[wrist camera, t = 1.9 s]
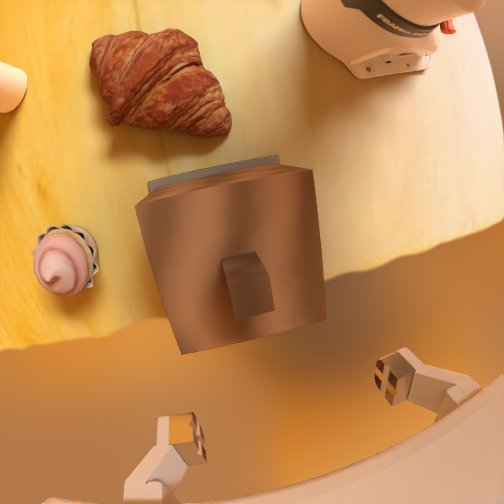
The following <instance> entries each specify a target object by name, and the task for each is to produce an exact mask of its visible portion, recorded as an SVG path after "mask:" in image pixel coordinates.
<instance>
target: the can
mask: <svg viewBox="0 0 504 504" xmlns="http://www.w3.org/2000/svg"><path fill="white" fill-rule="evenodd" d="M26 88H27V77H26V74H25V73H24V72H23V71H22V70H20V69H18V68H15V67H13V66H10V65H8V64H5V63H3V62H0V112H2V113H6V112H10V111H12V110H13V109H15V108H16V107H17V106H18V105H19V103H20V102H21V100H22V99H23V97H24V94H25V92H26Z"/></svg>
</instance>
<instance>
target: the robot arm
mask: <svg viewBox="0 0 504 504" xmlns="http://www.w3.org/2000/svg"><path fill="white" fill-rule="evenodd" d="M485 2H486V0H302V3H301V16H302V20H303V23H304V25H305V27H306V29H307V31H308V33H309V34H310V36H311V37H312V38H313V39H314V41H315V42H316V43H317V44H318V45H319V46H320V47H321V48H322V49H324V50H325V51H326V52H328V53H329V54H330V55H332V56H334V57H335V58H337V59H339V60H340V61H342V62H343V63H344V64H345V65H346V66H347V67H348V69H349V70H350V71H351V72H352V73H353V74H354V75H355V76H356V77H357V78H359V79H367V78H373V77H378V76H385V75H391V74H398V73H405V72H413V71H421V70H425V69H428V67H429V64H430V54H431V53H433V52H435V51H436V50H437V48H438V42H439V39H438V32H437V26H438V25H439V24H440V29H441V32H442V33H444V34H454V33H455V32H456V30H455V28H454V26H453V23H452V19H453V18H456V17H459V16H463V15H466V14H469V13H473V12H476V11H478V10H479V9H480V8H482V7H483V6H484V4H485ZM366 68H368V69H369V72H368V71H367V69H366ZM376 367H377V368H378V369H377V371H376V372H375V382H376V385H377V387H378V388H379V390H380V391H382V392H385V397H386V399H387V400H388V402H389V403H390V404H391V406H394V405H396V404H398V403H400V402H402V401H404V400H406V399H407V400H408V401H411V402H413V403H415V404H417V405H420V406H422V407H424V408H426V409H429V410H431V411H433V412H436V413H438V414H437V417H436V419H435V422H434V423H433V424H432V425H430V426H428V427H427V428H425V429H423V430H421V431H420V432H418V433H416V434H414V435H413V436H411V437H409V438H407V439H405V440H403V441H401V442H400V443H397V444H395V445H393V446H391V447H390V448H387V449H385V450H383V451H381V452H379V453H377V454H375V455H372V456H370V457H368V458H365V459H363V460H361V461H358V462H356V463H354V464H351V465H349V466H346V467H343V468H341V469H338V470H336V471H333V472H330V473H327V474H324V475H321V476H318V477H316V478H312V479H310V480H306V481H303V482H300V483H296V484H292V485H289V486H285V487H281V488H278V489H273V490H269V491H265V492H260V493H256V494H251V495H246V496H241V497H235V498H229V499H222V500H215V501H208V502H198V503H188V504H504V373H502V374H501V375H500V376H499V377H498V378H497V379H495V380H494V381H493V382H492V383H490V384H489V385H488V386H487V387H485V388H484V389H482V388H481V387H480V386H479V385H478V384H477V383H476V382H475V381H474V380H473V379H472V378H471V377H469V376H468V375H465V374H461V373H456V372H453V371H449V370H444V369H441V368H437V367H433V366H430V365H427V366H425V365H424V364H423V363H422V362H421V361H420V360H419V359H418V358H417V357H416V356H415V355H414V354H413V353H412V352H411V351H410V350H409V349H407V348H403V349H400V350H398V351H396V352H393V353H391V354H389V355H387V356H384V357H382V358H380V359H378V360H377V362H376ZM204 443H205V442H204V435H203V431H202V428H201V426H200V424H199V423H198V422H197V421H196V416H195V414H194V413H193V412H191V413H184V414H176V415H168V416H159V418H158V422H157V443H156V446H153V447H152V449H151V450H150V451H149V452H148V454H147V455H146V456H145V457H144V459H143V460H142V461H141V462H140V464H139V465H138V466H137V467H136V468H135V470H134V471H133V472H132V473H131V475H130V476H129V477H128V478H127V480H126V481H125V488H124V502H123V504H182V503H181V502H179V500H178V499H176V498H175V497H174V496H173V493H174V491H175V490H176V488H177V486H178V484H179V482H180V481H181V479H182V477H183V475H184V473H185V471H186V469H187V468H188V466H190V465H197V464H203V463H207V460H206V451H205V449H204V447H203V444H204ZM42 504H104V503H93V502H84V501H77V500H70V499H64V498H58V497H51V498H49V499H47V500H46V501H44V502H43V503H42Z"/></svg>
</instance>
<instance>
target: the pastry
mask: <svg viewBox="0 0 504 504" xmlns="http://www.w3.org/2000/svg"><path fill="white" fill-rule="evenodd" d="M90 68H91V71H92V73H93V74H94V75H95V76H96V77H98V78H99V90H100V92H101V96H102V98H103V100H104V101H106V102H107V103H108V104H109V105H110V106H111V107H110V109H109V114H108V120H107V121H108V123H109V124H110V125H111V126H118V125H119V124H120V123H124V124H127V125H130V126H136V127H142V128H144V129H150V130H156V129H166V130H182V131H184V132H186V133H188V134H190V135H192V136H195V137H211V136H213V135H222V134H224V133H228V132H229V131H230V129H231V126H232V121H231V114H230V112H229V110H228V109H227V108H226V107H225V102H224V95H223V94H222V89H221V86H220V84H219V81H218V80H217V79H216V77H215V76H214V75H213V74H212V73H211V72H210V71H208V70H206V69H205V68H204V67H203V64H202V61H201V57H200V53H199V49H198V43H197V42H196V41H195V40H194V39H193V38H191V37H190V36H188V35H187V34H185V33H184V32H182V31H181V30H178V29H166V30H164V31H162V32H158V33H156V34H150V35H148V34H147V33H144V32H142V31H129V32H126V33H123V34H120V35H117V36H116V35H112V34H110V35H105V36H103V37H101V38H99V39H97V40H95V41H94V42H93V43H92V51H91V57H90Z"/></svg>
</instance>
